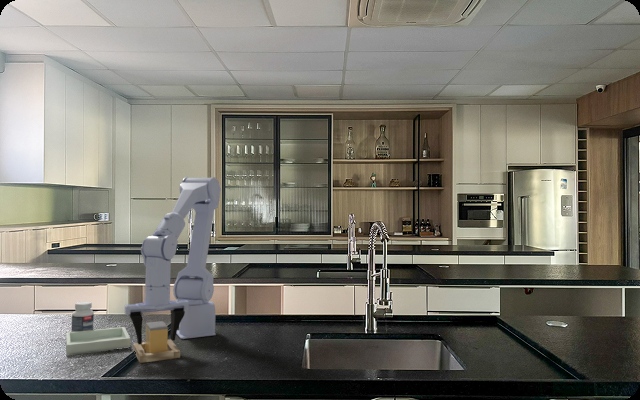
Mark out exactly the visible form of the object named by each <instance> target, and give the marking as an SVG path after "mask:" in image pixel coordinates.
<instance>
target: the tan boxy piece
mask: <svg viewBox="0 0 640 400" xmlns="http://www.w3.org/2000/svg"><path fill="white" fill-rule="evenodd" d="M168 331H169V326H168V325H167V324H166V323H165V322H164V321H161V320H160V321H152V322H146V323H145V342H146V346H145V350H144V351H145V353H146V354H147V353H155V352H163V351H168V350H167V341H168V338H169V337H168V335H169V334H168V333H169V332H168Z"/></svg>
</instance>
